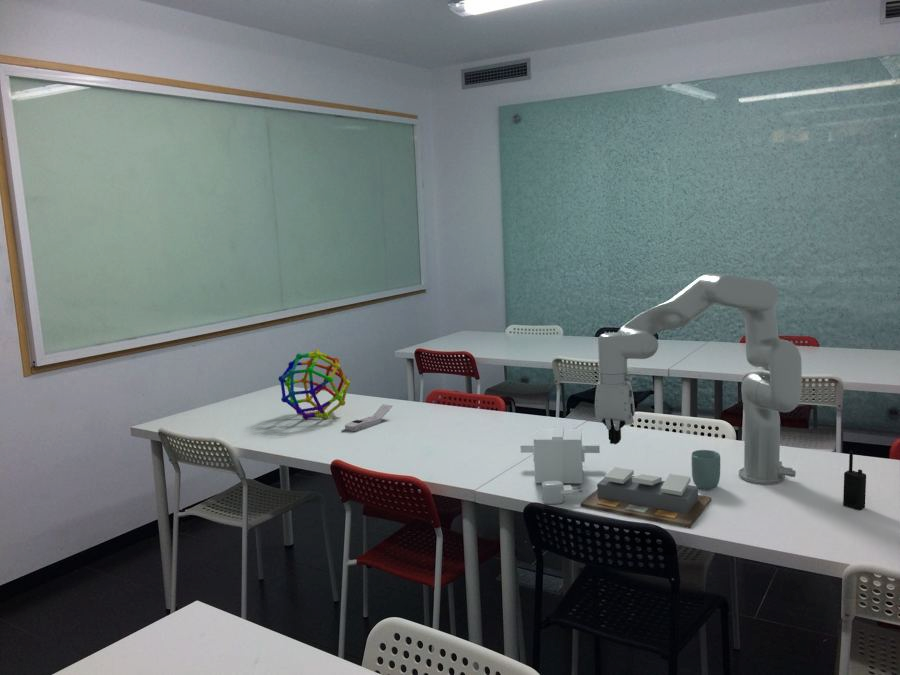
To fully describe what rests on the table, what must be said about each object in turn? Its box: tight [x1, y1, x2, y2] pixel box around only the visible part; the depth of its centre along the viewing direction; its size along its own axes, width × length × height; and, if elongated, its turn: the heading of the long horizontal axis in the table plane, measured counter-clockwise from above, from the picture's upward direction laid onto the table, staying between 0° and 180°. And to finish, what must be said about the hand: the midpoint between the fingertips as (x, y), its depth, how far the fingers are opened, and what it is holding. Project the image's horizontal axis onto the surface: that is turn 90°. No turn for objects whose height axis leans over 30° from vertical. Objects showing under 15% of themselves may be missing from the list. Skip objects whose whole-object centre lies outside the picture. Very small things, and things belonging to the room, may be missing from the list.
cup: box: [691, 449, 721, 491], centre depth 205 cm, size 8×8×10 cm
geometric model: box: [278, 349, 351, 420], centre depth 304 cm, size 30×30×30 cm
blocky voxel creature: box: [520, 426, 601, 485], centre depth 225 cm, size 15×25×28 cm
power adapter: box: [541, 481, 584, 505], centre depth 201 cm, size 11×5×6 cm, turn 90°
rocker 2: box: [632, 473, 663, 485], centre depth 197 cm, size 6×8×1 cm
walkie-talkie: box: [842, 450, 867, 511], centre depth 186 cm, size 5×3×15 cm
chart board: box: [579, 489, 713, 529], centre depth 197 cm, size 30×20×1 cm, turn 55°
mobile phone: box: [341, 404, 393, 433], centre depth 290 cm, size 6×6×25 cm
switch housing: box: [596, 475, 699, 514], centre depth 197 cm, size 25×10×5 cm, turn 55°
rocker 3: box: [660, 473, 691, 496], centre depth 192 cm, size 6×8×1 cm
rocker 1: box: [603, 467, 635, 484], centre depth 201 cm, size 6×8×1 cm
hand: (614, 442), depth 197 cm, fingers closed
